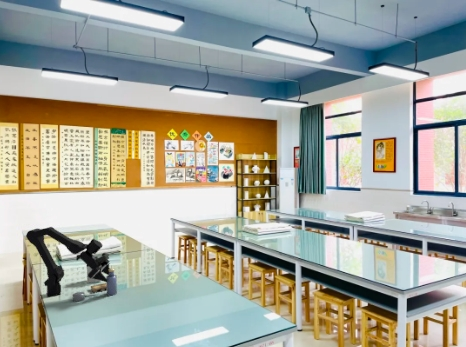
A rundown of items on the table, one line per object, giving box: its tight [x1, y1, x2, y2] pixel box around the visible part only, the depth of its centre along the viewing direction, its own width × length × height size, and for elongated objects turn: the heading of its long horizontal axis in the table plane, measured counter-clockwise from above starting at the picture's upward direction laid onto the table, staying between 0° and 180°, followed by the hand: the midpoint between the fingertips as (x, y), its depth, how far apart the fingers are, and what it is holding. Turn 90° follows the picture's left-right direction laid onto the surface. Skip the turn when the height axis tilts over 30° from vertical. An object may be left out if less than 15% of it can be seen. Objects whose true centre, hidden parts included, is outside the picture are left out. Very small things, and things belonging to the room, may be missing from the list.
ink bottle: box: [105, 267, 118, 296], centre depth 197 cm, size 5×5×14 cm
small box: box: [86, 266, 104, 283], centre depth 220 cm, size 8×6×13 cm
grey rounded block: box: [72, 291, 86, 303], centre depth 189 cm, size 6×6×3 cm
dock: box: [90, 282, 107, 294], centre depth 204 cm, size 10×7×2 cm
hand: (110, 278), depth 197 cm, fingers open, 9 cm apart
